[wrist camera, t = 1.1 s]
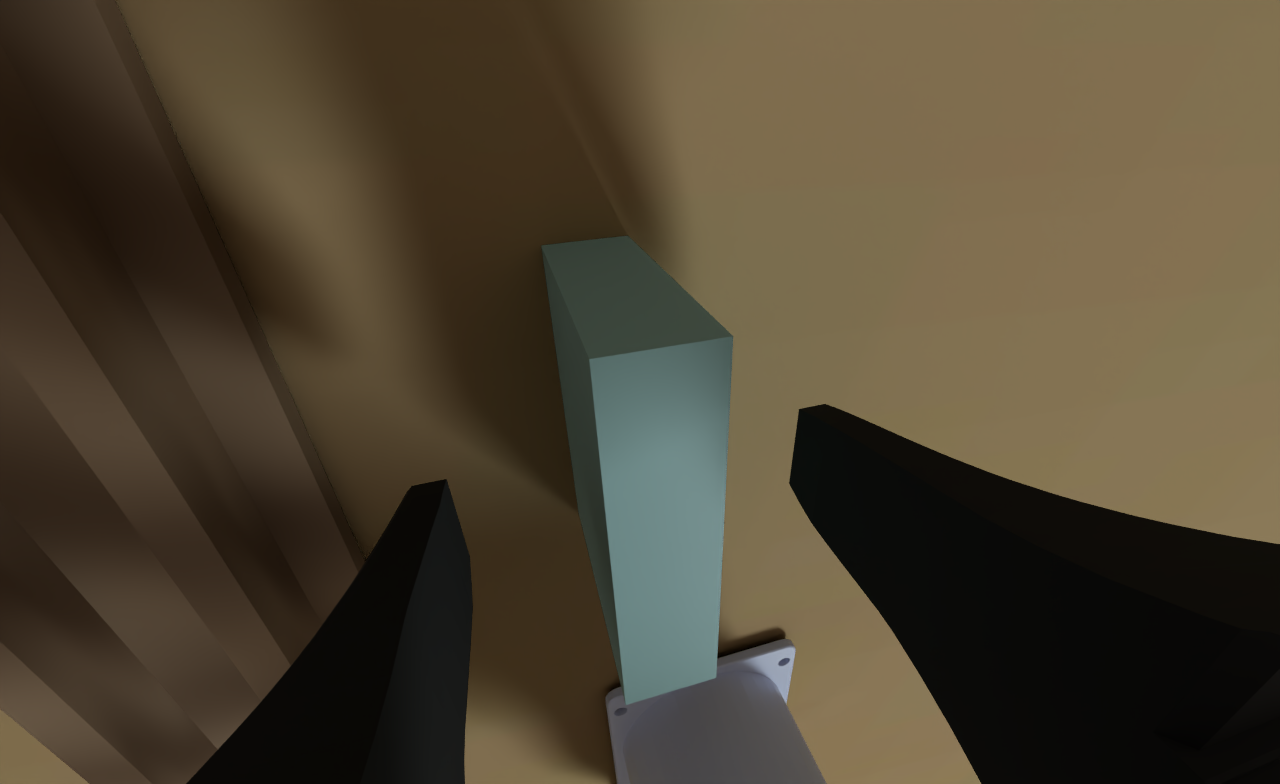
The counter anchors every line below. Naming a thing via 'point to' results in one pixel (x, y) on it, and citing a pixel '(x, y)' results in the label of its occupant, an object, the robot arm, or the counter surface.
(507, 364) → the counter surface
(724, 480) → the teal rectangular block
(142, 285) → the track
